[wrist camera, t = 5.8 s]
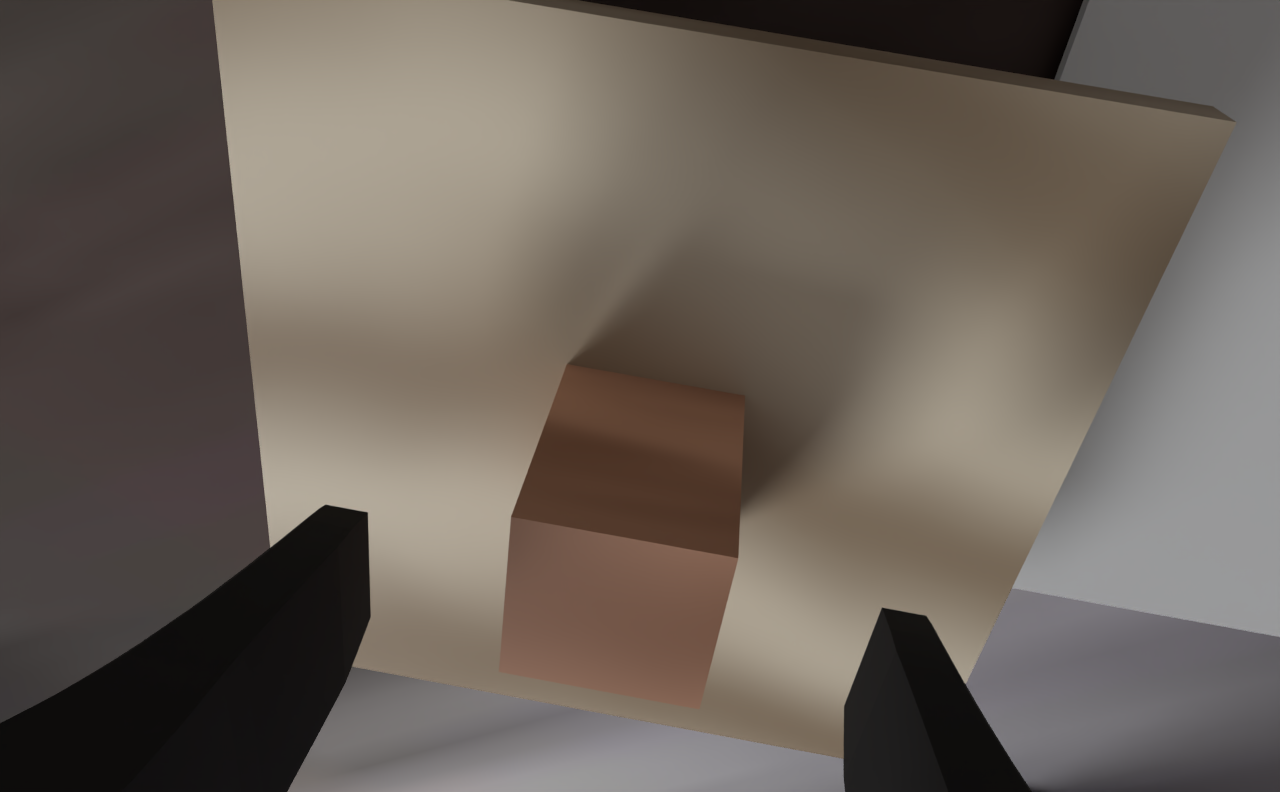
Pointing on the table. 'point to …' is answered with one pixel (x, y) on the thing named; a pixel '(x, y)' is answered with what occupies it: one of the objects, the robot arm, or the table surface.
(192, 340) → the table surface
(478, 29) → the lid
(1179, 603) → the mat
